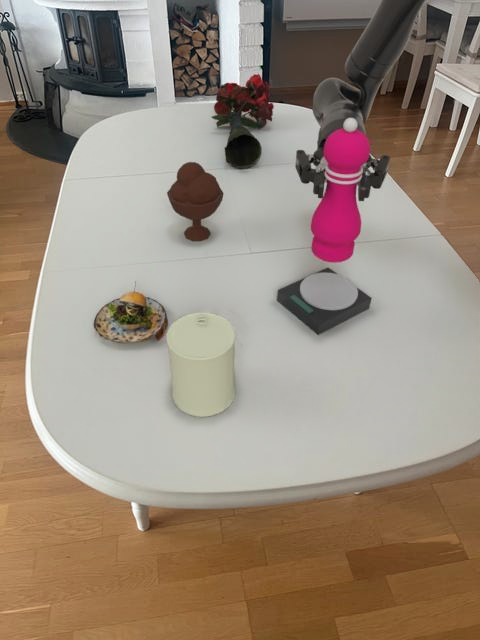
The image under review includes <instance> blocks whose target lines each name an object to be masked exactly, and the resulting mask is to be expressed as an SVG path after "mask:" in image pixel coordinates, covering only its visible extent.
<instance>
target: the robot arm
mask: <svg viewBox="0 0 480 640" xmlns="http://www.w3.org/2000/svg"><path fill="white" fill-rule="evenodd" d="M425 2H426V0H380V2H379V4H378V6H377V7H376V9H375V11H374V13H373V15H372V17H371V18H370V20H369V21H368V24H367V25H366V27H365V29H364V30H363V32H362V33H361V35H360V37H359V38H358V40H357V42H356V44H355V45H354V47H353V48H352V50H351V51H350V53H349V54H348V56H347V58H346V61H345V64H344V72H345V74H346V76H347V78H348V79H349V80H350V82H351V83H352V84H353V85H354V86H353V85H351V84H349V83H348V82H345V81H344V80H342V79H340V78H337V77H328V78H326V79H324V80H322V81H321V82H320V83H319V84H318V86H317V87H316V89H315V91H314V93H313V97H312V105H311V107H312V113H313V117H314V118H315V121H316V122H317V124H318V126H319V130H318V135H317V141H316V144H317V145H316V146H317V147H316V150H315V151H314V152H313V154H310V153H306V151H305V150H303V149H297V150H296V152H295V153H296V154H295V165H294V167H295V170H296V172H297V175H298V177H299V179H300V182H301V183H302V184H303V185H307V184H308V185H309V184H310V183H312V184H313V187H312V193H313V194H314V195H317V198H318V199H322V198H323V196H324V193H325V183H326V184H327V178H326V177H325V171H326V169H325V166H326V164H327V163H328V162H327V161H326V160H325V157H324V153H323V152H324V145H325V142H326V140H327V138H328V137H329V135H330V134H331V133H333V132H334V131H336V130H339V129H342V128H343V124H344V121H345V120H346V119H348V118H354V119H355V120H356V121H357V128H356V129H357V130H359V131H361V132H362V133H364V134H365V135H366V136H367V132H366V127H365V125H366V122H367V121H368V118H369V116H370V113H371V111H372V106H373V104H374V101H375V98H376V96H377V93H378V91H379V89H380V87H381V85H382V84H383V82H384V80H385V78H386V77H387V76H388V74H389V73H390V71H391V70H392V68H393V67H394V66H395V64H396V63H397V61H398V60H399V59H400V57H401V56H402V54H403V52H404V50H405V49H406V47H407V45H408V43H409V41H410V39H411V37H412V33H413V30H414V27H415V25H416V22H417V19H418V17H419V14H420V11H421V9H422V7H423V5H424V4H425ZM390 159H391V156H390V155H387V154H384V155H381V157H378V158H373V157H372V155H371V154H370V155H369V158H368V160H367V162H366V163H365V164H364V165H362V167H363V172H362V178H361V180H360V181H358V183H357V199H358V202H365V199H369V197H370V194H371V188H373V189H375V190H379V189H381V188H382V186H383V183H384V181H385V179H386V177H387V174H388V170H389V166H390ZM312 164H313V166H314V167H315V168H312ZM369 168H372V171H373V172H372V171H371V170H370V169H369Z"/></svg>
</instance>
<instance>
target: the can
mask: <svg viewBox="0 0 480 640" xmlns="http://www.w3.org/2000/svg"><path fill="white" fill-rule="evenodd" d="M166 343H167V349H168V357H169V358H168V359H169V366H170V375H171V383H172V384H171V385H172V390H171V396H172V400H173V402H174V404H175V406H176V407H177V408H178V409H179V410H181V412H184V413H185V414H188V415H189V416H193V417H199V418H200V417H201V418H205V417H212V416H216V415H218V414H220V413H222V412H224V411H225V410H227V408H229V407H230V406H231V404H232V403H233V401H234V400H235V396H236V385H235V351H236V350H235V345H236V330H235V328H234V326H233V325H232V323H231V322H230V321H229V320H228V319H227V318H225V317H224V316H221V315H218V314H215V313H212V312H193V313H189V314H186V315H183V316H180V318H178V319H176V320H175V321H173V322H172V323H171V325H170V326H169V328H168V329H167V332H166Z"/></svg>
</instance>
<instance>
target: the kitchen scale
mask: <svg viewBox="0 0 480 640" xmlns="http://www.w3.org/2000/svg"><path fill="white" fill-rule="evenodd" d="M276 293H277V294H276V301H277V302H278V303H279V304H280V305H282V306H283V307H284V308H285V309H286V310H287V311H289V312H290V314H292V315H294V317H296V318H297V319H298V320H299V321H301V322H302V323H303V324H304V325H305V326H307V327H308V328H309V329H310V330H311V331H313V332H314V333H315V334H316V335H318V336H319V335H321V334H323V333H325V332H327V331H329V330H331V329H333V328H335V327H336V326H338V325H340V324H342V323H344V322H346V321H348V320H350V319H352V318H353V317H356V316H358V315H359V314H361V313H363V312H366V311H367V310H370V307H371V304H372V303H371V302H372V297H371V296H370V295H368V294H367V293H365V292H364V291H363V290H361V289H360V288H358V287H357V286H356V284H355V283H354V282H353V281H352V280H351V279H350V278H348V277H345V276H344V275H341V274H338V273H337V272H336V271H334V270H333V269H331V268H330V267H329V266H328V267H325V268H323V269H321V270H319V271H316V272H314V273H311V274H310V275H308V276H305V277H303V278H301V279H298V280H297V281H294V282H292V283H289V284H288V285H286V286H284V287H280V288H278V289H277V292H276Z"/></svg>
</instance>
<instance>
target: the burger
mask: <svg viewBox="0 0 480 640" xmlns="http://www.w3.org/2000/svg"><path fill="white" fill-rule="evenodd" d="M136 285H137V281H135V282H134V287H136ZM168 325H169V320H168V315H167V311H166V309H165V307H164V306H163V305H162V304H161V303H160V302H159V301H157V300H155V299H153V298H151V297H147V296H145V295H144V294H143V293H141V292H139V291H136V289H133V291H128V292H126V293H124V294H123V295H121V296H120V297H118V298H115V299H113V300H112V301H110V302H107V303H106V304H105V305H104V306H102V307H100V309H99V311H98V312H97V313H96V315H95V317H94V320H93V328H94V330H95V331H96V332H97V334H98V335H99V336H101V337H103V338H104V339H107V340H109V341H112V342H115V343H118V344H119V343H122V344H123V343H124V344H125V343H138V342H145V341H149V340H150V339H152V338H154V337H155V340H156V341H158V342H159V341H160V340H161V339H162V338H163V337H164V336H165V335H166V332H165V329H166V326H168Z"/></svg>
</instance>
